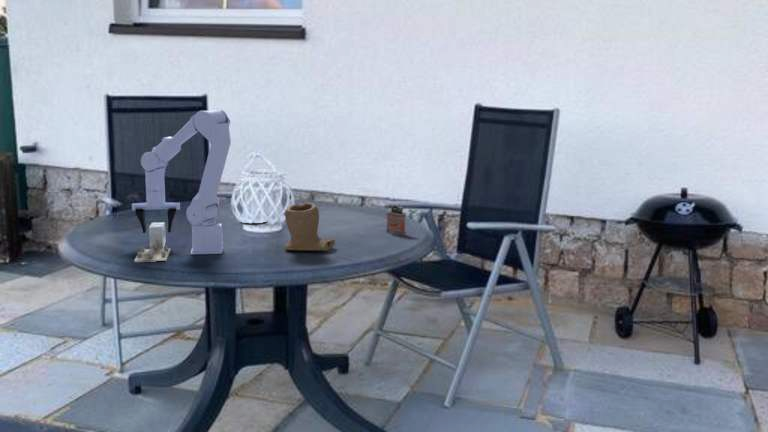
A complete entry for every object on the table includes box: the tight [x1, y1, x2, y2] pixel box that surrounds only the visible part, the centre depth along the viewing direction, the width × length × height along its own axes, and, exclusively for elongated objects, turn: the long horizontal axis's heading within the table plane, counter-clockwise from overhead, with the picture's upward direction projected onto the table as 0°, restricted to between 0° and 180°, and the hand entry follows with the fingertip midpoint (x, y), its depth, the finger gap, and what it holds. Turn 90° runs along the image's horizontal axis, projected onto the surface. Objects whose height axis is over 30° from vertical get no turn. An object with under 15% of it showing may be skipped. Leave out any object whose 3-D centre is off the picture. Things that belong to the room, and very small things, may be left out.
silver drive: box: [148, 221, 167, 249], centre depth 252 cm, size 4×8×7 cm, turn 9°
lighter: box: [385, 203, 407, 236], centre depth 275 cm, size 8×3×10 cm, turn 47°
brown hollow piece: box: [284, 202, 336, 252], centre depth 248 cm, size 15×12×15 cm
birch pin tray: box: [133, 244, 172, 263], centre depth 239 cm, size 9×14×2 cm, turn 9°
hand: (157, 232), depth 251 cm, fingers open, 7 cm apart
